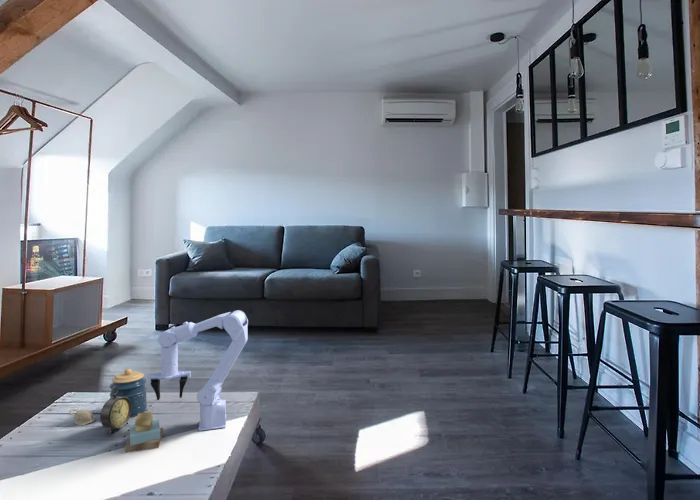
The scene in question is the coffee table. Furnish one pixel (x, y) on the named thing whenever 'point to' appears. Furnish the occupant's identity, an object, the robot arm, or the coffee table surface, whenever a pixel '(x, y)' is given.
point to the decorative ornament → (82, 416)
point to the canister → (131, 389)
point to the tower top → (144, 434)
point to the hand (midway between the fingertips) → (169, 397)
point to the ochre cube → (143, 421)
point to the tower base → (144, 444)
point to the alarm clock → (116, 412)
